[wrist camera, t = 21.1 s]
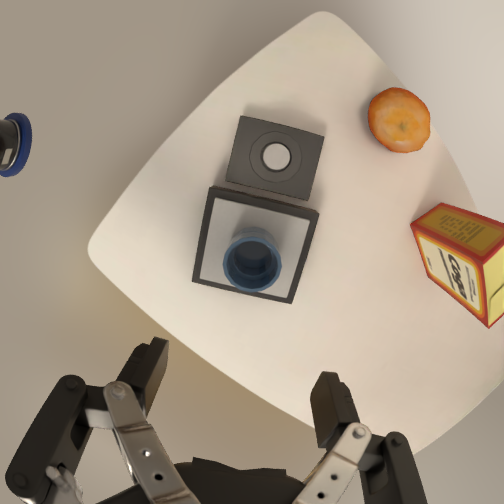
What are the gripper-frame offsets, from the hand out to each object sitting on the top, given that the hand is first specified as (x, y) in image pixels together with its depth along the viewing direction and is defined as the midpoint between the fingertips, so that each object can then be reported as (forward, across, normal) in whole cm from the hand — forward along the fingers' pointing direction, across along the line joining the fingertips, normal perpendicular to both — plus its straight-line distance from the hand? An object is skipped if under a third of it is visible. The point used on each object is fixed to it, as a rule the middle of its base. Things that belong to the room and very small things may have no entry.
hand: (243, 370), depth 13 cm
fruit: (+23, -13, -20) cm, 33 cm away
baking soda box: (+23, -26, -7) cm, 36 cm away
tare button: (+20, 0, -11) cm, 23 cm away
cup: (+20, 0, 0) cm, 20 cm away
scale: (+23, 0, 0) cm, 23 cm away
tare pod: (+23, 0, -11) cm, 26 cm away
